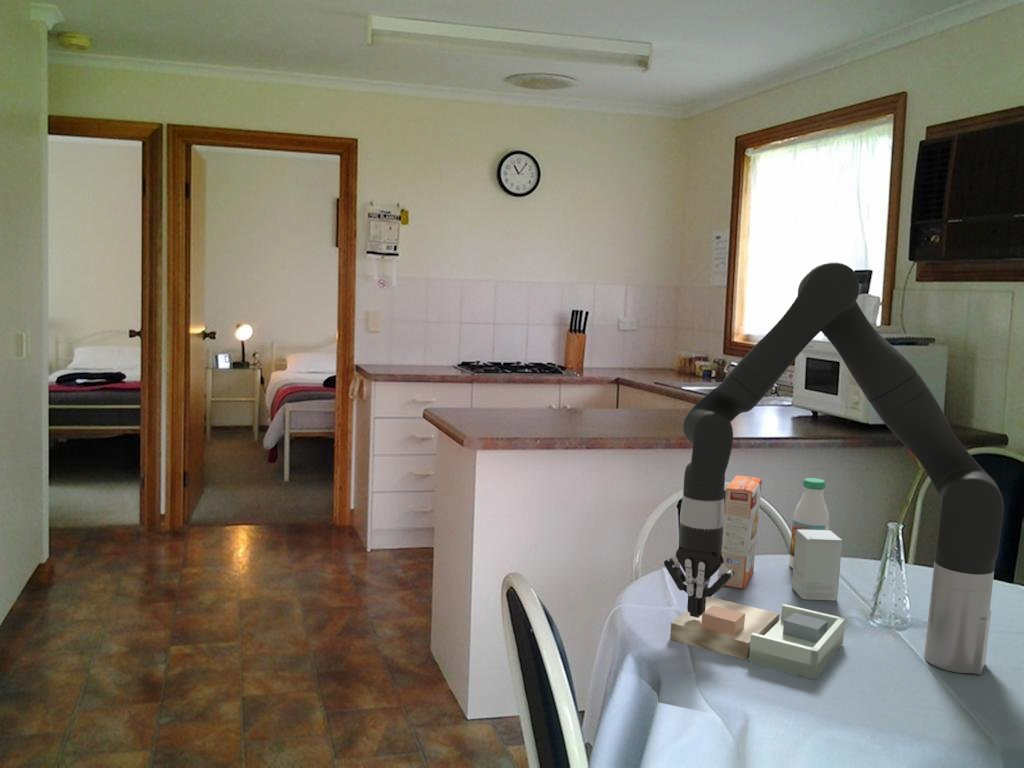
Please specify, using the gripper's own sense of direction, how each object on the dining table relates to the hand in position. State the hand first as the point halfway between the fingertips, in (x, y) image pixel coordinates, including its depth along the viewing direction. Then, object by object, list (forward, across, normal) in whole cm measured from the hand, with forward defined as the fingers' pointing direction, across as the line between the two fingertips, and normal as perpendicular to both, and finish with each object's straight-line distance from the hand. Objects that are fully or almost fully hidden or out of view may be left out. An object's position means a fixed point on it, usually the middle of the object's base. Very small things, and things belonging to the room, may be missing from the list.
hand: (695, 615), depth 171 cm
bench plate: (+4, -4, -4) cm, 7 cm away
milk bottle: (+4, -5, -52) cm, 53 cm away
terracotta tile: (+1, -5, 0) cm, 5 cm away
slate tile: (+2, -17, -8) cm, 19 cm away
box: (+4, -17, -4) cm, 18 cm away
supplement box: (+4, -11, -36) cm, 38 cm away
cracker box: (+4, +5, -35) cm, 36 cm away
